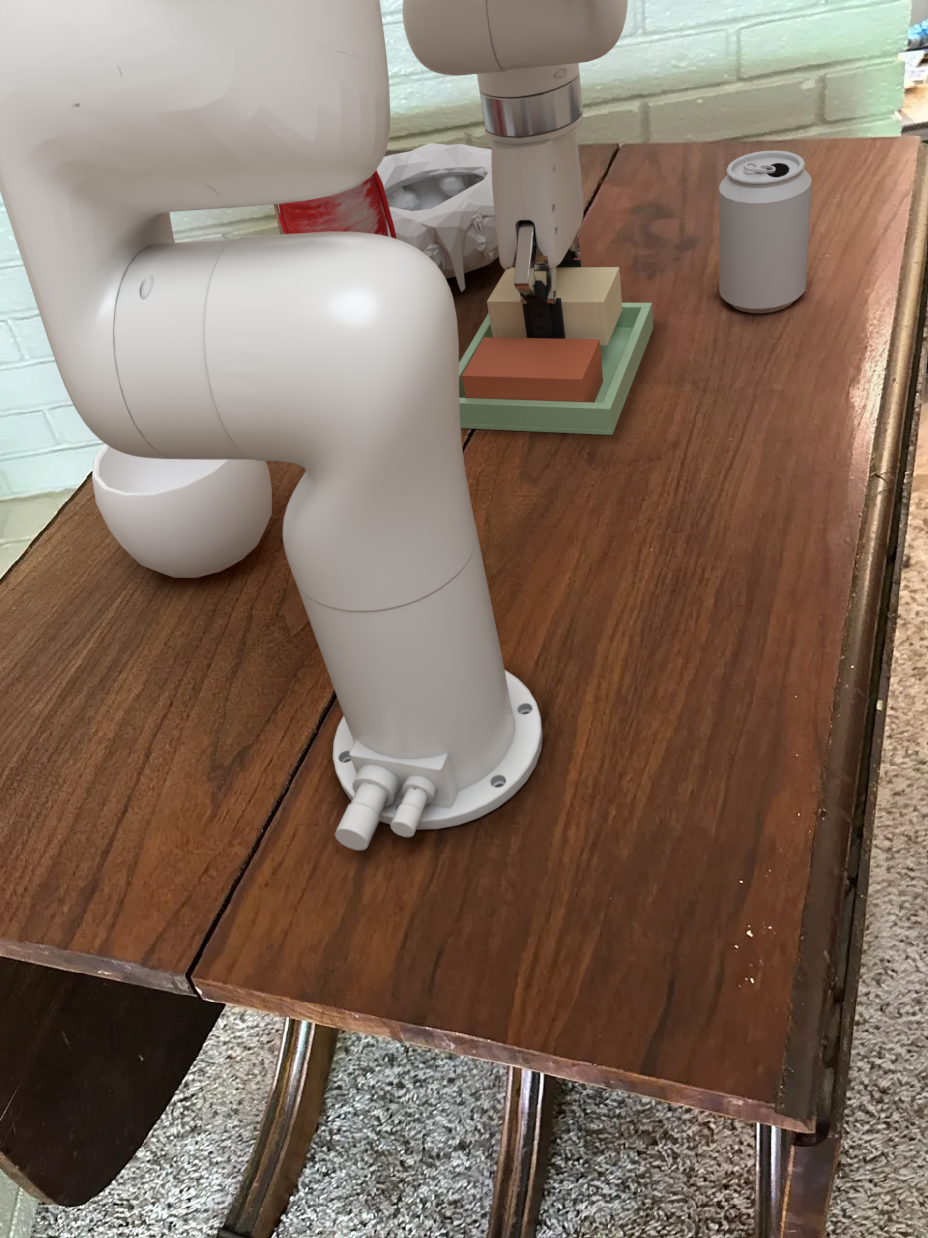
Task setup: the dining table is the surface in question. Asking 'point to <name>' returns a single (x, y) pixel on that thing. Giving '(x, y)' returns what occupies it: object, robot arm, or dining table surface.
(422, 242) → the bowl
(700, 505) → the dining table surface
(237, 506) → the cup
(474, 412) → the frame
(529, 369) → the pad terracotta
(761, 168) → the can
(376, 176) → the water bottle
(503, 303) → the pad beige
